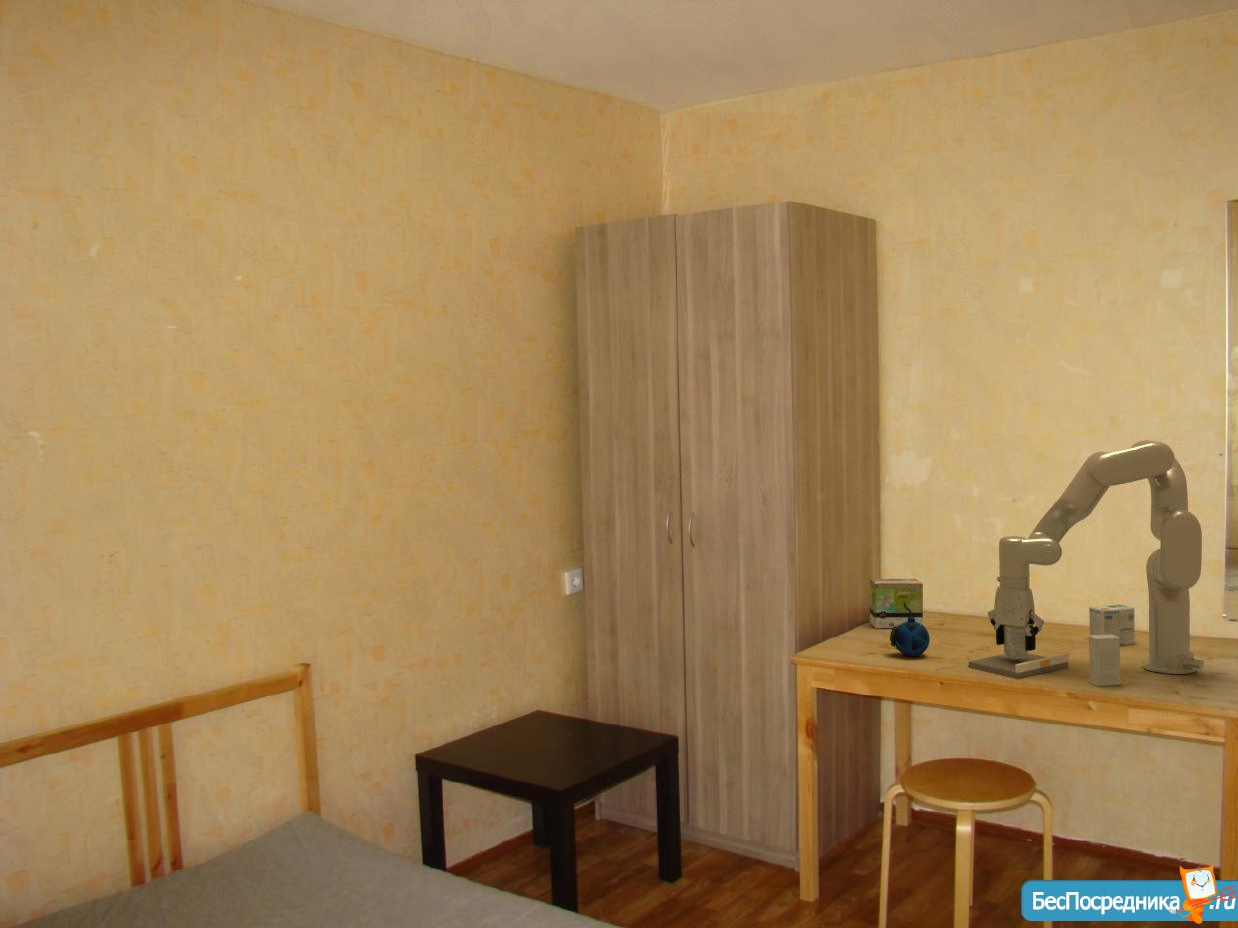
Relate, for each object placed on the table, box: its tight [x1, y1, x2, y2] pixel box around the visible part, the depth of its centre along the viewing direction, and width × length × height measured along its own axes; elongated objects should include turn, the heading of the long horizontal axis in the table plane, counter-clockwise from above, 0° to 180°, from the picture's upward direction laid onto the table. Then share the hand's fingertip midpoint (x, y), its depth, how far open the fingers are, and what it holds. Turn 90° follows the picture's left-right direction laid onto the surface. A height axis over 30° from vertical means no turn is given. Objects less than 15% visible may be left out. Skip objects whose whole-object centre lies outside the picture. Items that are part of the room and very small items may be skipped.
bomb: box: [889, 603, 931, 657], centre depth 305 cm, size 10×11×15 cm
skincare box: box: [1088, 634, 1121, 687], centre depth 269 cm, size 6×4×12 cm
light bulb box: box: [1088, 603, 1136, 646], centre depth 313 cm, size 11×7×11 cm, turn 105°
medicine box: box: [1003, 625, 1029, 659], centre depth 289 cm, size 8×4×9 cm, turn 173°
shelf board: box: [968, 652, 1069, 679], centre depth 288 cm, size 17×20×4 cm
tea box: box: [869, 578, 924, 630], centre depth 347 cm, size 15×10×15 cm, turn 88°
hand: (1015, 647), depth 289 cm, fingers closed on medicine box, 8 cm apart
